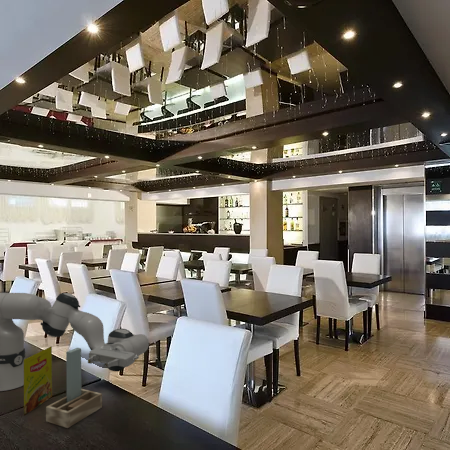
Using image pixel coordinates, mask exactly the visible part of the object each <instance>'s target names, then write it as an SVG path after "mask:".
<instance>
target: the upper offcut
mask: <svg viewBox="0 0 450 450" xmlns="http://www.w3.org/2000/svg"><path fill="white" fill-rule="evenodd" d="M85 401H87V400H84V399H80V400H78V401H76V402H75V403H73V404H71V405H69V406H68V411H69V410H71V409H73V408H75V407H76V406H78V405H80V404H82V403H84V402H85Z"/></svg>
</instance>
